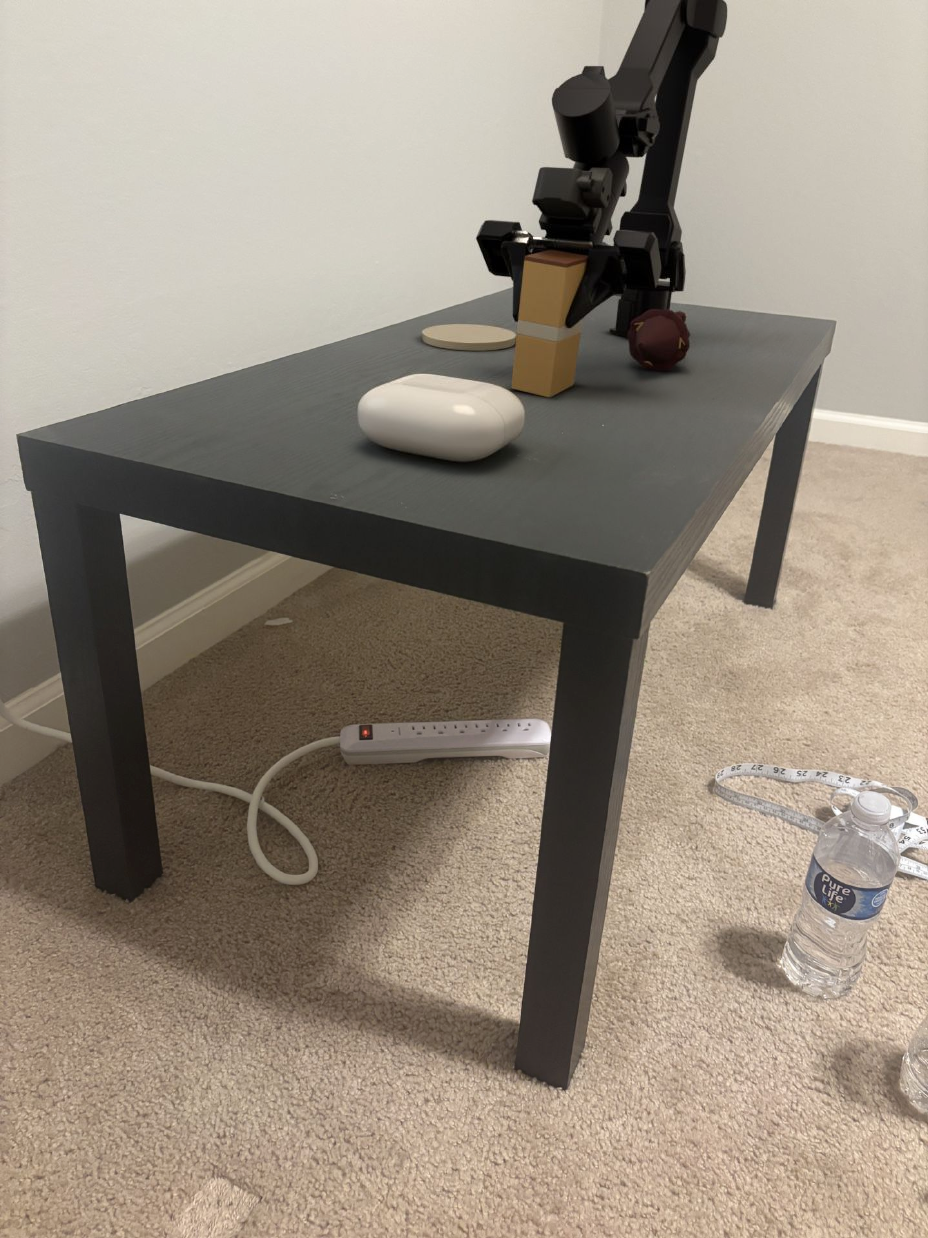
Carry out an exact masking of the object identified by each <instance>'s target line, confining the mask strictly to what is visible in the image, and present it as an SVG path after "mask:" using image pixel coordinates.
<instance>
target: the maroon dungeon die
mask: <svg viewBox="0 0 928 1238" xmlns="http://www.w3.org/2000/svg"><path fill="white" fill-rule="evenodd" d="M686 320H687V315H686V312H683V311H681V310H679V311H674V310H671V309H670V310H669V309H665V310H662V309H650V310H648V311H646V312H645V313H643V314H642V315H641V316H639V317H637V318H635V319H634V320H633V321H631V323H630V330H629V331H628V334H627V335H628V337H627V340H628V351H629V355H630V357H631V358H632V359H633V360H634V361H636V363H638V364H639V365H640V366H641V367H643V368H644V369H645V370H650V371H659V372H668V371H670V370H671V369H672V368H673V367H675V366H676V365H677V364H678V363H679V362H681V361H682V360H684V359H686V356H687V353H688V351H689V349H690V336H691V333H690V330H689V329H688V327H687V324H686Z"/></svg>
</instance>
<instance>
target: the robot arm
mask: <svg viewBox="0 0 928 1238" xmlns="http://www.w3.org/2000/svg"><path fill="white" fill-rule="evenodd" d="M727 22H728V4H727V2H726V1H725V0H644V9H643V13H642V15H641V17H640V20H639V22H638V24H637V27H636V28H635V31H634V33H633V36H632V38H631V39H630V43H629V45H628V47H627V50H626V52H625V54H624V56H623V58H622V60H621V63H620V65H619V67H618V69H617V72H616V73H615V74H614V75H612V76H611V77H610V78H607V77H606V70H605V67H604V65H584V66H583V69H582V71H581V73H579V74H576V75H574V76H571V77H569V78H568V79H566V80H565V81H564V82H562V83H561V84H560V85H559V86H558V87H556V88H555V89H554V91H553V93H552V96H551V106H552V110H553V113H554V114H553V115H554V118H555V122H556V126H557V130H558V134H559V135H558V136H559V139H560V143H561V147H562V151H563V155H564V158H566V159H568V160H570V161H572V162H574V163H573V166H572V167H555V166H554V167H553V166H552V167H551V166H542V167H540V168H539V169H538V172H537V173H538V174H537V177H536V182H535V187H534V191H533V195H532V199H531V203H532V205H533V206H536V207H537V208H538V210H539V211H540V213H541V214H540V217H539V219H538V224H539V228H540V230H541V231H545V235H544V236H534V235H532V233H530V232H529V231H526V230H523V228H522V225H521V223H520V221H508V220H496V219H487V220H484V221H483V223H482V224H481V225H480V226H479V227H480V228H479V230H478V232H477V235H476V237H475V240H476V242H477V245H478V248H479V250H480V252H481V256H482V258H483V260H484V263H485V266H486V268H487V270H488V272H489V273H490V274H492V275H494V276H495V277H503V278H511V279H510V280H511V282H512V318H513V320H514V322H515V323H518V320H519V319H518V317H519V308H520V298H521V288H522V279H523V269H524V261H525V256H527V255H531V254H535V253H539V252H543V251H547V250H557V251H563V252H568V253H574V254H580V255H586V256H588V260H587V265H586V270H585V274H584V276H583V278H582V280H581V283H580V285H579V287H578V289H577V292H576V294H575V296H574V299H573V301H572V304H571V306H570V309H569V312H568V314H567V317H566V321H565V323H566V327H567V328H572V327H573V326H574V325H576V324H577V323H578V322H579V321H580V320H581V319H584V318H586V316H587V315H589V314H590V313H591V312H592V311H594V310H595V309H596V308H598V307H599V306H600V305H602V304H603V303H605V302H606V301H607V300H609V299H611V298H612V297H614V295H620V298H618V301H617V312H616V320H615V327H610V328H609V330H608V333H611V334H616V335H619V336H622V337H626V338H628V335H627V334H628V331H629V330H630V323H631V321H633V320H634V319H635V318H637V317H639V316H641V315H642V314H643V313H645V312H646V311H648V310H650V309H662V310H665V309H669V310H671V302H672V296H673V295H672V294H673V293H676V292H684V291H685V283H686V275H687V271H686V270H687V269H686V257H685V253H684V249H683V248H684V247H683V243H682V234H683V231H682V227H681V225H680V221H679V219H678V216H677V213H676V209H675V202H676V197H677V192H678V187H679V181H680V174H681V170H682V165H683V159H684V154H685V149H686V145H687V139H688V132H689V127H690V122H691V117H692V111H693V105H694V102H695V101H694V99H695V94H696V91H697V90H696V89H697V84H698V80H699V79H700V78H701V77H702V75H703V74H704V73H705V71H706V70H707V69H708V68H709V66H710V65H711V63H712V62H713V61H715V58H716V55H717V50H718V46H719V42H720V38H723V36H724V35H725V31H726V27H727ZM644 156H645V159H644V165H643V170H642V175H641V176H642V177H641V182H640V187H639V191H638V198H637V201H636V202H635V204H634V205H633V206H632V207H631V209H630V210H629V211H627V210H626V211H625V210H624V212H623V214H622V215H621V217H620V219H619V220H620V221H619V229H617V230H615V233H614V235H613V238H612V241H613V245H608V244H607V245H606V244H603V241H604V239H605V236H611V234H612V232H613V231H612V230H613V222H612V218H613V216H614V214H615V213H614V212H615V211H616V208H617V204H618V202H619V200H620V198H625V197H626V196H627V192H628V191H627V189H628V185H627V179H628V176H629V175H630V174H629V173H630V163H629V160H628V158H644ZM667 279H669V281H668V280H667ZM666 280H667V281H666Z"/></svg>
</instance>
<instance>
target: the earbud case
mask: <svg viewBox="0 0 928 1238" xmlns="http://www.w3.org/2000/svg"><path fill="white" fill-rule="evenodd" d="M356 407H357V409H356V416H357V417H356V419H357V424H358V428H359V429H360V431H361V432H362V434H363V435H364V436H365V437H366V438H367V439H368V440H370V441H371V442H372V443H374V444H376V445H378V446H381V447H383V448H386V449H389V450H394V451H398V452H403V453H408V454H413V455H417V456H423V457H428V458H433V459H439V460H444V461H448V462H449V461H450V462H455V463H468V462H475V461H480V460H483V459H485V458H487V457H489V456H492V455H493V454H495V453H497V452H498V451H500V450H501V449H503V448H505V447H506V446H508V445H509V444H511V443H512V442H515V440H517V438H519V437H520V435H521V434H522V432H523V431H524V428H525V423H526V410H525V406H524V404H523V403H522V401H521V400H520V399H519V397H518V396H517V395H516V394H515V393H513V392H512V391H510V390H509V389H506V388H505V387H503V386H500V385H497V384H493V383H489V382H483V381H479V380H473V379H472V380H471V379H466V378H461V377H460V378H459V377H453V376H446V375H439V374H433V373H413V374H409V375H404V376H402V377H399V378H396V379H393V380H390V381H388V382H386V383H383V384H380V385H377V386H376V387H373V388H372V389H370V390H369V391H367V392H366V393H365V394H364V395H363V396H362V397H361V398H360V399H359V401H358V404H357V406H356Z"/></svg>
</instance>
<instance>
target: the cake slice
mask: <svg viewBox="0 0 928 1238" xmlns="http://www.w3.org/2000/svg"><path fill="white" fill-rule="evenodd" d="M587 260H588V256H586V255H580V254H574V253H568V252H563V251H557V250H547V251H543V252H539V253H535V254H531V255H527V256H525V261H524V269H523V279H522V288H521V298H520V308H519V317H518V319H519V320H518V322H517V327H516V329H517V330H516V343H515V349H514V358H513V367H512V375H511V387H510V388H511V389H513V390H517V391H520V392H525V393H528V394H532V395H538V396H541V397H546V398H548V399H549V398H552V397H554V396H556V395H557V394H559V393H561V392H563V391H565V390H567V389H569V388H571V387H572V386H574V384H575V383H574V382H575V375H576V369H577V362H578V355H579V354H578V353H579V347H580V340H581V332H582V328H583V327H582V326H583V321H584V320H583V319H584V318H583V319H581V320H580V321H579V322H578V323H577V324H576V325H574V326H573V327H572V328H567V327H566V323H565V321H566V317H567V314H568V312H569V309H570V306H571V304H572V301H573V299H574V296H575V294H576V292H577V289H578V287H579V285H580V283H581V280H582V278H583V276H584V274H585V270H586V265H587Z"/></svg>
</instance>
